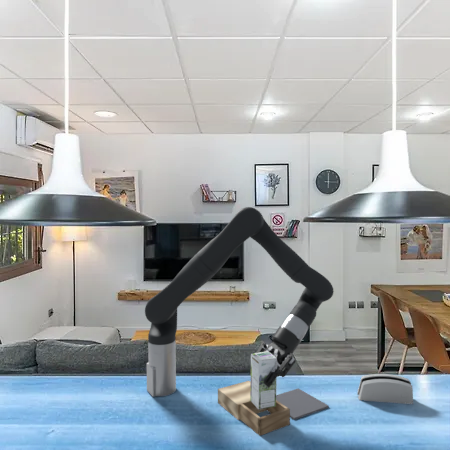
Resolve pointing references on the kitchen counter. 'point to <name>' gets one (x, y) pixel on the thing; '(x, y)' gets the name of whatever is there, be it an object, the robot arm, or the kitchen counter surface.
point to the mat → (300, 403)
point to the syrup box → (262, 380)
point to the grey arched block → (385, 389)
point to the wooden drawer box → (252, 409)
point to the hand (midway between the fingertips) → (258, 380)
